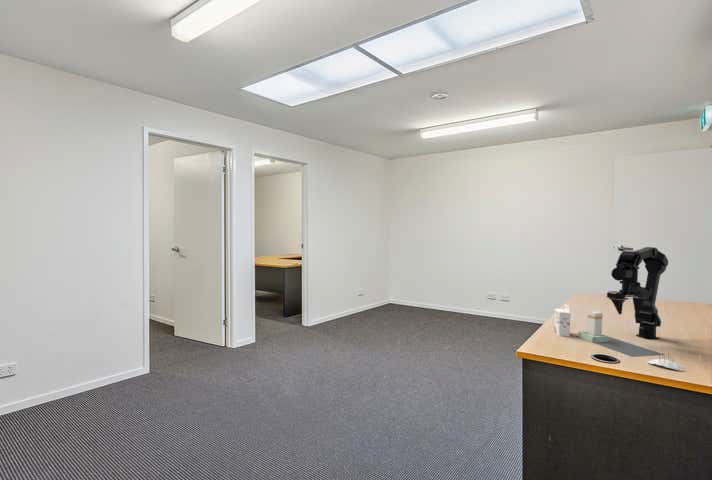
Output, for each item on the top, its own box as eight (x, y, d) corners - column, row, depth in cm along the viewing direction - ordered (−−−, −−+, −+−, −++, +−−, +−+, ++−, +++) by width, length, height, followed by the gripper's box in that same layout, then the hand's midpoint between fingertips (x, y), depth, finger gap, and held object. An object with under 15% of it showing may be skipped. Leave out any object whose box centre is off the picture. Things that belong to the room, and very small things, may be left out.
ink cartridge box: (553, 332, 194) (554, 302, 193) (564, 332, 193) (565, 302, 192) (558, 336, 186) (559, 305, 185) (570, 337, 185) (571, 306, 184)
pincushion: (643, 365, 148) (643, 350, 148) (648, 362, 151) (649, 347, 151) (683, 375, 138) (684, 359, 138) (688, 371, 142) (689, 356, 142)
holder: (594, 336, 186) (594, 331, 185) (610, 341, 177) (610, 336, 177) (578, 337, 184) (578, 331, 184) (593, 342, 175) (594, 337, 175)
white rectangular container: (594, 337, 183) (595, 311, 183) (602, 340, 178) (603, 313, 178) (585, 338, 182) (586, 311, 182) (593, 341, 177) (594, 313, 177)
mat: (603, 335, 189) (603, 334, 188) (665, 355, 159) (665, 354, 159) (574, 337, 185) (574, 336, 185) (632, 357, 156) (632, 356, 156)
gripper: (628, 282, 166) (627, 318, 167) (664, 281, 170) (662, 317, 171) (606, 278, 177) (605, 313, 178) (640, 278, 181) (639, 312, 182)
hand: (628, 314), depth 177 cm, fingers open, 9 cm apart
